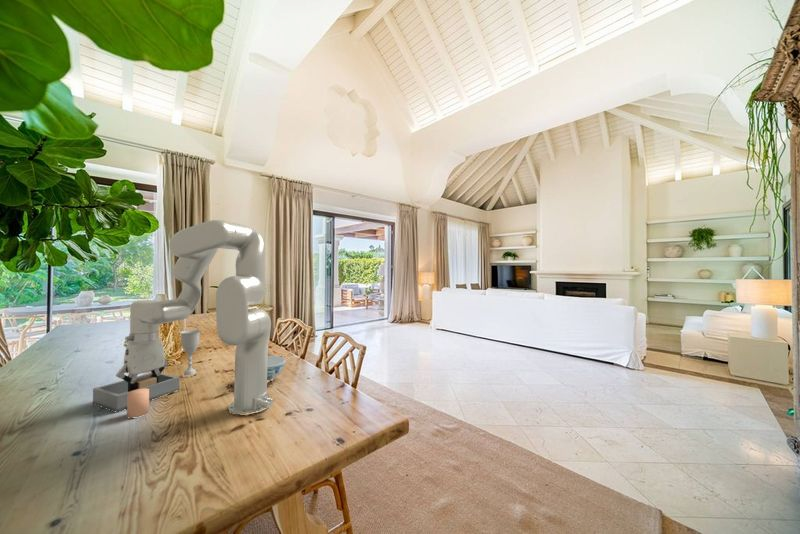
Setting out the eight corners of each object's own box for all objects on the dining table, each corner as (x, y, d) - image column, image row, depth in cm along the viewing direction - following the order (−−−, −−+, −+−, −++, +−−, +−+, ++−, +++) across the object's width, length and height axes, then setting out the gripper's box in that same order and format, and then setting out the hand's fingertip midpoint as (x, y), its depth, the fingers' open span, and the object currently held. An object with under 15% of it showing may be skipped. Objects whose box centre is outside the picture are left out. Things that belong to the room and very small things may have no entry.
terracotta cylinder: (152, 412, 94) (152, 390, 94) (132, 420, 89) (133, 396, 89) (142, 409, 96) (143, 387, 96) (123, 416, 91) (123, 393, 91)
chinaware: (275, 388, 114) (276, 367, 114) (236, 387, 115) (236, 366, 115) (290, 374, 129) (291, 356, 129) (255, 373, 130) (256, 355, 130)
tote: (179, 391, 110) (179, 377, 110) (116, 412, 94) (117, 396, 94) (155, 384, 116) (155, 371, 116) (92, 403, 99) (93, 388, 99)
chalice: (182, 379, 121) (183, 334, 121) (176, 375, 125) (177, 331, 126) (203, 374, 127) (203, 331, 127) (196, 371, 131) (197, 329, 131)
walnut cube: (156, 392, 105) (156, 377, 105) (139, 398, 100) (139, 382, 100) (147, 390, 107) (147, 375, 107) (130, 395, 102) (130, 380, 102)
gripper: (119, 344, 94) (118, 403, 94) (178, 333, 110) (177, 384, 110) (106, 341, 97) (105, 398, 97) (165, 331, 113) (164, 380, 113)
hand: (143, 390), depth 104 cm, fingers open, 5 cm apart
